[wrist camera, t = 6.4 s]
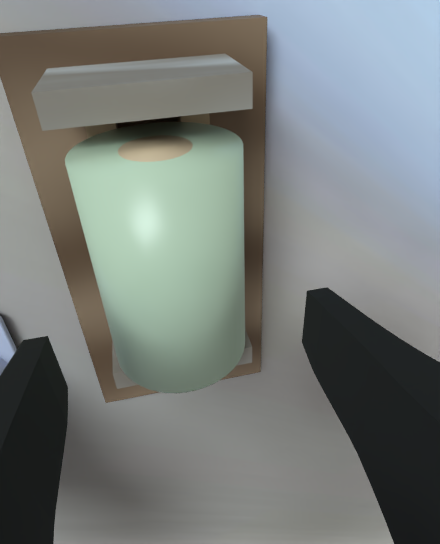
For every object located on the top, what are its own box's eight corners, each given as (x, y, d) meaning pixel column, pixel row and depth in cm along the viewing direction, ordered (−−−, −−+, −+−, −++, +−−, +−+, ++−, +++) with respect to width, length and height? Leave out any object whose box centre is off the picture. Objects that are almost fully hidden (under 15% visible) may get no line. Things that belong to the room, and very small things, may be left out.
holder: (255, 359, 26) (279, 422, 22) (105, 388, 24) (105, 460, 21) (258, 14, 15) (305, 27, 12) (-6, 34, 14) (-47, 54, 10)
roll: (225, 291, 20) (263, 374, 16) (113, 313, 19) (121, 408, 15) (218, 114, 15) (268, 166, 11) (67, 132, 14) (60, 196, 10)
